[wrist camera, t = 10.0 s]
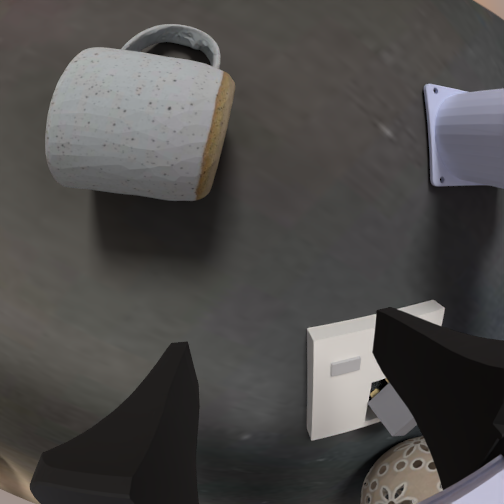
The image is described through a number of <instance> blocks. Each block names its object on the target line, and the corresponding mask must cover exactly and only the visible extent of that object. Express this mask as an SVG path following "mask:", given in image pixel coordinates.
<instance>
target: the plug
mask: <svg viewBox="0 0 504 504" xmlns="http://www.w3.org/2000/svg"><path fill="white" fill-rule="evenodd" d="M385 380H386V381H387V382H388V384H387V385H386V386H385V387H384V388H383V389H382V390H381V391H380V390H379V389H375V390H374V391H373V392H372V393H370V396H371V397H372V399H371V400H370V401H369V402H368V403H367V404H368V405H369V406H370V407H371V409H372V410H373V411H374V413H375V414H376V415H377V417H378V418H379V419H380V421H381V422H382V423H383V425H384V426H385V427H386V429H387V430H388V431H389V433H390V434H391V435H392V436H403V435H406V434H407V433H408V432H409V431H410V430H411V429H413V428H414V427H415V426H416V425H417V423H416V421H415V419H414V417H413V416H412V414H411V412H410V411H409V409H408V408H407V406H406V405H405V403H404V402H403V401H402V399H401V398H400V396H399V395H398V394H397V392H396V391H395V389H394V388H393V387H392V385H391V384H390V382H389V381H388V380H387V378H386V379H385Z"/></svg>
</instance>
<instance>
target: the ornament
mask: <svg viewBox="0 0 504 504" xmlns="http://www.w3.org/2000/svg"><path fill="white" fill-rule="evenodd" d="M369 471H370V472H368V474H367V476H366V478H365V480H364V483H365V482H366V485H364V483H363V486H362V490H361V494H362V496H361V504H368V498H369V497H370V502H369V504H417V503H419V502H421V501H423V500H425V499H427V498H429V497H431V496H433V495H435V494H437V493H439V492H441V491H443V489H441V482H440V478H439V475H438V472H437V469H436V466H435V464H434V461H433V458H432V456H431V453H430V451H429V448H428V446H427V444H426V442H425V439H424V437H423V436H421V437H415V438H412V439H408V440H406V441H404V442H401V443H399V444H397V445H396V446H394V447H392V448H391V449H389V450H388V451H387V452H385V453H384V454H383V455H382V456H381V457H380V458H379V459H378V460H377V461H376V462H375V464H374V465H373V466H372V467H371V469H370V470H369ZM403 487H404V490H403V491H401V490H400V488H403ZM383 488H385V489H383ZM395 493H397V494H398V495H399V496H398V497H397V498H396V499H395ZM387 494H388V495H389V498H388V499H386V498H385V496H386V495H387ZM412 500H413V501H415V502H414V503H412Z"/></svg>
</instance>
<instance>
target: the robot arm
mask: <svg viewBox="0 0 504 504" xmlns="http://www.w3.org/2000/svg"><path fill="white" fill-rule="evenodd" d="M433 89H434V90H435V93H434V91H433ZM424 96H425V105H426V114H427V124H428V137H429V154H430V181H431V184H432V185H433V186H465V185H489V186H494V187H499V188H503V189H504V89H494V90H485V91H476V92H466V91H462V90H457V89H453V88H448V87H443V86H438V85H433V84H426V85H425V86H424ZM440 178H441V182H440ZM372 353H373V355H374V357H375V359H376V361H377V363H378V365H379V367H380V369H381V371H382V372H383V374H384V375H385V377H386V378H387V380H388V381H389V382H390V384H391V385H392V387H393V388H394V389H395V391H396V392H397V394H398V395H399V396H400V398H401V399H402V401H403V402H404V403H405V405H406V406H407V408H408V409H409V411H410V412H411V414H412V416H413V417H414V419H415V421H416V423H417V425H418V427H419V429H420V431H421V433H422V435H423V437H424V439H425V442H426V444H427V446H428V448H429V451H430V453H431V456H432V458H433V461H434V464H435V466H436V469H437V472H438V475H439V478H440V482H441V485H442V488H443V491H441V492H439V493H437V494H435V495H433V496H431V497H429V498H427V499H425V500H423V501H421V502H419V503H417V504H504V341H502V340H494V339H487V338H481V337H477V336H472V335H468V334H464V333H461V332H457V331H454V330H451V329H448V328H445V327H442V326H439V325H437V324H434V323H431V322H429V321H426V320H424V319H421V318H419V317H416V316H414V315H411V314H409V313H406V312H403V311H401V310H398V309H395V308H391V307H388V308H384V309H380V310H377V313H376V324H375V333H374V342H373V351H372ZM198 420H199V386H198V380H197V377H196V373H195V369H194V365H193V361H192V357H191V353H190V349H189V345H188V342H178V343H171V344H170V345H169V347H168V348H167V349H166V351H165V352H164V354H163V355H162V356H161V358H160V359H159V361H158V362H157V363H156V365H155V366H154V367H153V369H152V370H151V371H150V373H149V374H148V375H147V377H146V378H145V379H144V380H143V382H142V383H141V384H140V385H139V386H138V387H137V388H136V390H135V391H134V392H133V393H132V394H131V395H130V396H129V397H128V398H127V399H126V400H125V401H124V402H123V403H122V404H121V405H120V406H119V407H118V408H116V409H115V410H114V411H113V412H112V413H110V414H109V415H108V416H106V417H105V418H104V419H103V420H101V421H100V422H99V423H97V424H96V425H95V426H93V427H92V428H90V429H88V430H87V431H85V432H84V433H82V434H80V435H79V436H77V437H75V438H73V439H72V440H70V441H68V442H66V443H64V444H61V445H59V446H57V447H55V448H53V449H50V450H48V451H46V452H43V453H42V455H41V457H40V460H39V462H38V465H37V467H36V470H35V472H34V475H33V478H32V480H31V483H30V490H31V492H32V494H33V496H34V497H35V498H36V499H37V500H38V501H39V502H40V503H41V504H199V502H198V491H197V477H196V446H197V433H198Z"/></svg>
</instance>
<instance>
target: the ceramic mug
mask: <svg viewBox="0 0 504 504" xmlns="http://www.w3.org/2000/svg"><path fill="white" fill-rule="evenodd" d="M163 42H171V43H176V44H181V45H185V46H189V47H191V48H193V49H196V50H201V51H202V52H203V53H205V54H206V56H207V58H208V59H209V61H210V64H211V65H207V64H205V63H201V62H196V61H192V60H187V59H179V58H171V57H165V56H160V55H154V54H149V53H143V52H140V51H141V50H142V49H144V48H146V47H148V46H150V45H153V44H155V43H163ZM219 67H220V51H219V47H218V45H217V43H216V42H215V41H214V40H213V39H212V38H211V37H210V36H209V35H208V34H206V33H205V32H203V31H201V30H198V29H195V28H193V27H189V26H185V25H178V24H166V25H159V26H154V27H152V28H149V29H147V30H144V31H143V32H141V33H139V34H137V35H136V36H134V37H133V38H132V39H131V40H129V41H128V42H127V43H126V44H125V45H124V46H123V48H122V49H121V50H120V49H112V48H102V47H96V48H89V49H86V50H83V51H82V52H81V53H79V54H78V55H77V56H76V57H75V58H74V59H73V60H72V61H71V62H70V64H69V65H68V66H67V68H66V69H65V71H64V73H63V74H62V76H61V78H60V80H59V81H58V83H57V86H56V89H55V91H54V94H53V97H52V100H51V103H50V107H49V111H48V116H47V125H46V135H45V150H46V158H47V163H48V166H49V169H50V171H51V174H52V176H53V177H54V179H55V180H56V181H57V182H58V183H59V184H61V185H63V186H65V187H71V188H81V189H90V190H97V191H104V192H112V193H120V194H129V195H138V196H144V197H150V198H156V199H162V200H169V201H195V200H199V199H202V198H204V197H205V196H206V195H207V194H209V192H210V190H211V187H212V185H213V181H214V177H215V174H216V170H217V167H218V163H219V159H220V155H221V151H222V147H223V143H224V139H225V135H226V131H227V126H228V121H229V117H230V112H231V107H232V102H233V98H234V93H235V82H234V81H233V79H232V78H231V77H230V75H229V74H227V73H226V72H224V71H222V70H219Z"/></svg>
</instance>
